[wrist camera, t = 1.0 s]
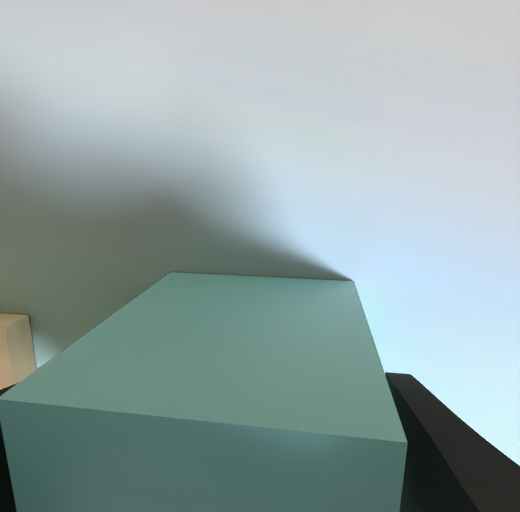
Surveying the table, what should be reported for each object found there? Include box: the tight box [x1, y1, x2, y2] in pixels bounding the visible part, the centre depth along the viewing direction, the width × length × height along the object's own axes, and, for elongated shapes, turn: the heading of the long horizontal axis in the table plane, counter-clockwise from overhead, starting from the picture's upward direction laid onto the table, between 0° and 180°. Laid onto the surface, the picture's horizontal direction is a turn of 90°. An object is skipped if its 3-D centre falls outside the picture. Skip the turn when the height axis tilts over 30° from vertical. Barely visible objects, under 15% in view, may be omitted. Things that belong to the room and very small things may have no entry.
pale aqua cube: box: [0, 272, 408, 512], centre depth 9 cm, size 6×6×7 cm
